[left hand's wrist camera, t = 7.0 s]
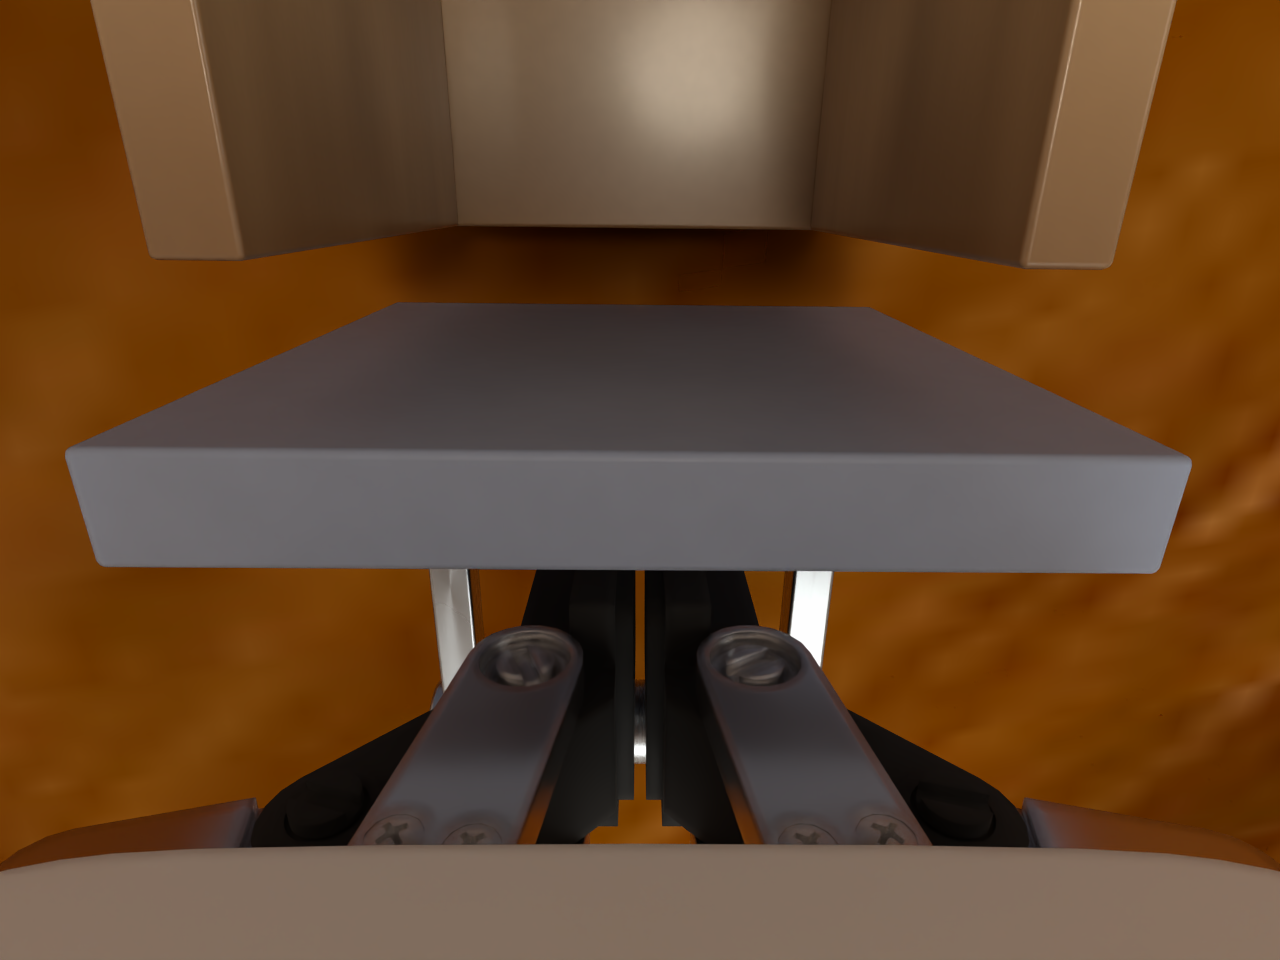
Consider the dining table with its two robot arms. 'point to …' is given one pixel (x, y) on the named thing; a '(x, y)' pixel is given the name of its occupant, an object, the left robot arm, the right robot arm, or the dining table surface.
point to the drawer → (631, 334)
